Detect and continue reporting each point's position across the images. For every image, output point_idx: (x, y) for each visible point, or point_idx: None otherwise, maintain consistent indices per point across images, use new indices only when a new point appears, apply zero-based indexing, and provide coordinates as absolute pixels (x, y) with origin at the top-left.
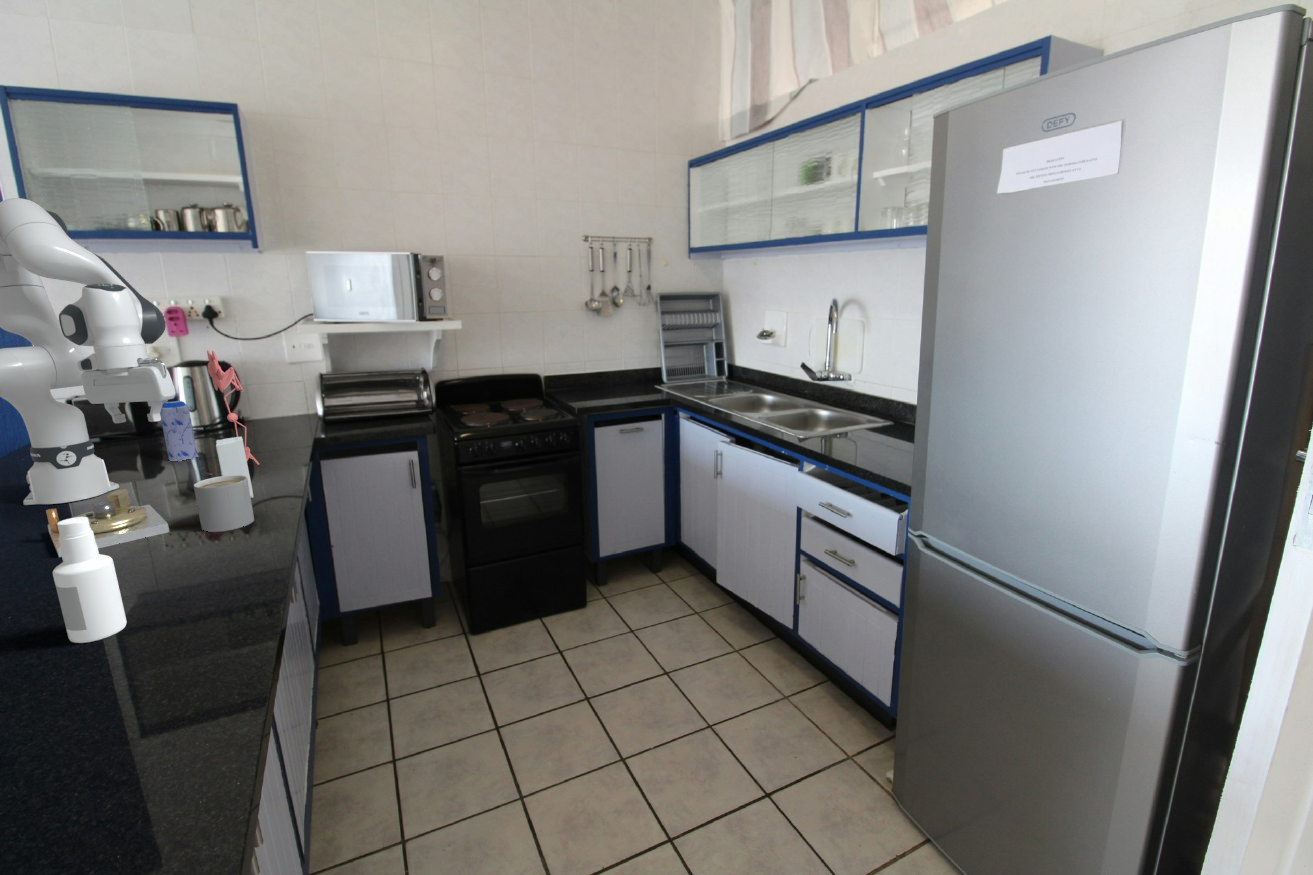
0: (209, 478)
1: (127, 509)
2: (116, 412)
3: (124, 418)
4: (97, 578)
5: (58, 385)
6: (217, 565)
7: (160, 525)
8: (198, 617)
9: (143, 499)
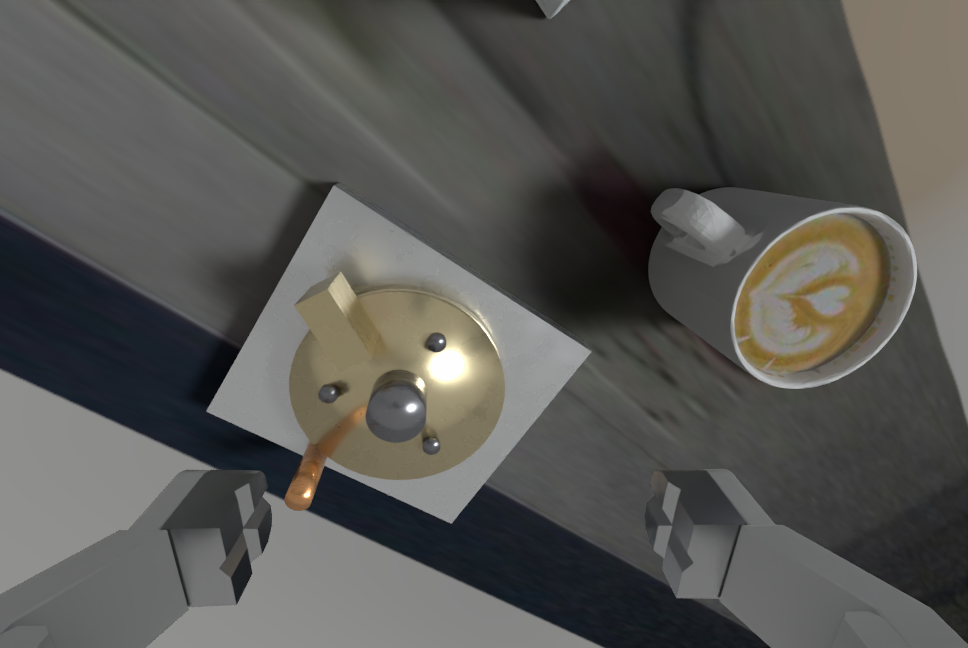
0: (746, 271)
1: (403, 329)
2: (144, 598)
3: (240, 495)
4: None
5: None
6: (843, 481)
7: (579, 364)
8: None
9: (99, 7)
